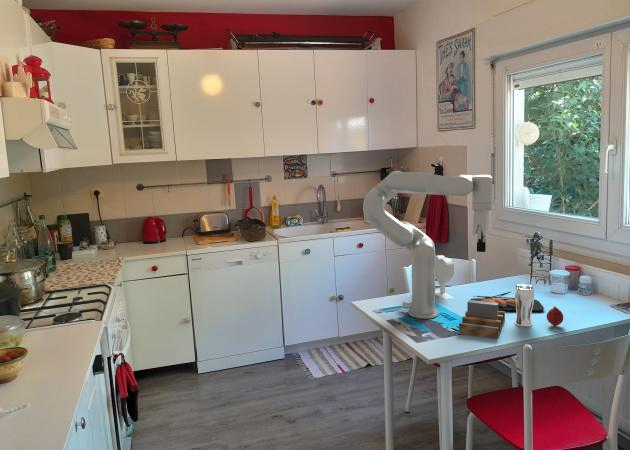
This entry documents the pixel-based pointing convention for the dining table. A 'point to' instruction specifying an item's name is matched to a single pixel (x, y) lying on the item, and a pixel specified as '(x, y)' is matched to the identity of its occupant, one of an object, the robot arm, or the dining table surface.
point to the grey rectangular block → (482, 309)
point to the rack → (482, 326)
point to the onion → (555, 316)
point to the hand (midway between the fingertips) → (481, 251)
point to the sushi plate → (507, 302)
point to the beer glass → (524, 304)
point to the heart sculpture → (443, 274)
